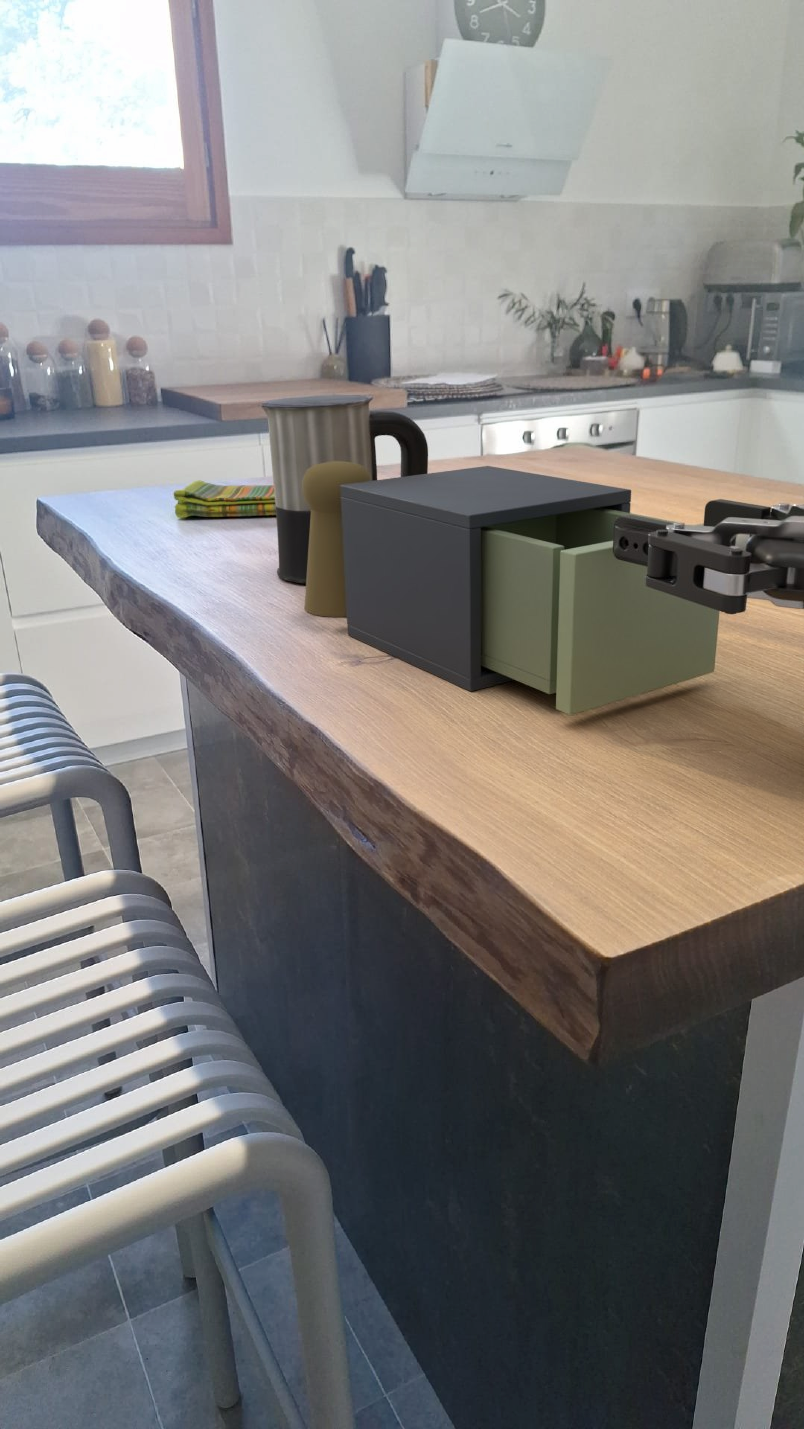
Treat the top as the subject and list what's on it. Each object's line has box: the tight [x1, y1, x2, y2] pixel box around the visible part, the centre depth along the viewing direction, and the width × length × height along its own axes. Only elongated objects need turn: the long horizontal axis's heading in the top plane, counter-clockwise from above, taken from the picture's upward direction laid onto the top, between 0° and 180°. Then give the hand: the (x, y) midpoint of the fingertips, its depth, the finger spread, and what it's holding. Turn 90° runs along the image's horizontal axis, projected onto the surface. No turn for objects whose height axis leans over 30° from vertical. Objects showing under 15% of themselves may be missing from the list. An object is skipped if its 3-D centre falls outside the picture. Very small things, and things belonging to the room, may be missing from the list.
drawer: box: [480, 507, 750, 716], centre depth 59 cm, size 18×11×9 cm, turn 33°
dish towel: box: [173, 479, 276, 519], centre depth 122 cm, size 15×36×3 cm, turn 91°
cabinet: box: [340, 465, 632, 692], centre depth 68 cm, size 15×13×11 cm
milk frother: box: [260, 394, 429, 585], centre depth 91 cm, size 14×16×15 cm
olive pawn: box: [302, 461, 371, 618], centre depth 78 cm, size 6×6×11 cm
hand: (665, 527), depth 53 cm, fingers closed on drawer, 6 cm apart
